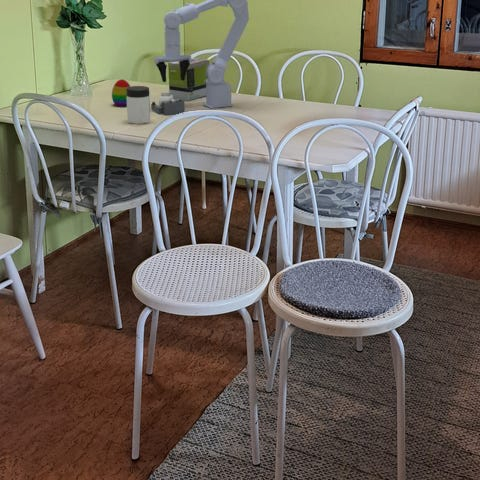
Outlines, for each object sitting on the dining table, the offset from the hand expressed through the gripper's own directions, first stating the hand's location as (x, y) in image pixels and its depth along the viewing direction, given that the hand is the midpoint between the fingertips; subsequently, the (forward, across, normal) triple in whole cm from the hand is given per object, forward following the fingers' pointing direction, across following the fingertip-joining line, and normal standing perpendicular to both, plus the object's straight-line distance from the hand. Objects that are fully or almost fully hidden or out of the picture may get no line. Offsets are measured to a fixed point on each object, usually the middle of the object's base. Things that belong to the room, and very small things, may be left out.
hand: (173, 80), depth 307 cm
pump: (+10, +5, +4) cm, 12 cm away
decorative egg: (+10, +17, -11) cm, 23 cm away
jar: (+10, +21, +17) cm, 29 cm away
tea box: (+10, -13, -14) cm, 22 cm away
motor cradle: (+10, +5, +7) cm, 13 cm away
